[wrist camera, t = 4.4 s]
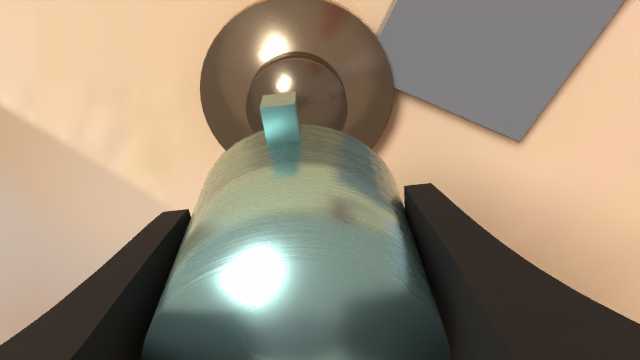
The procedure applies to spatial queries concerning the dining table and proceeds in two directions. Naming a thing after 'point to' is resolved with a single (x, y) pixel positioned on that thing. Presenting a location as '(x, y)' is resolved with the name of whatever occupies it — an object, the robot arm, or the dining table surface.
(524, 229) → the dining table surface
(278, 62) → the bronze metal disc
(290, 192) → the teal mug
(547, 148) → the dining table surface
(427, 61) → the coaster
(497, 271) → the robot arm
